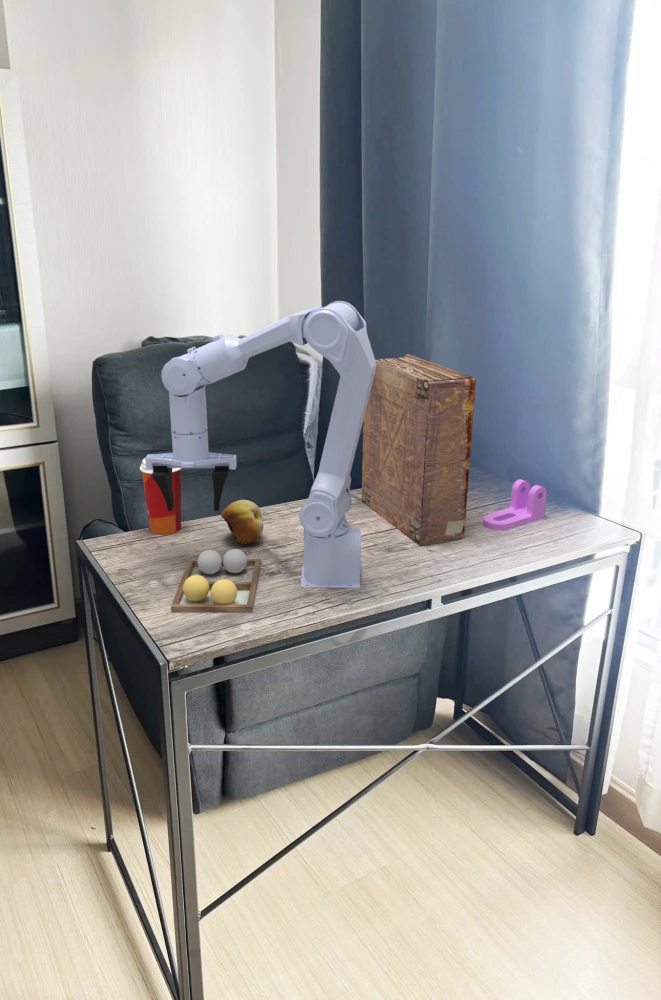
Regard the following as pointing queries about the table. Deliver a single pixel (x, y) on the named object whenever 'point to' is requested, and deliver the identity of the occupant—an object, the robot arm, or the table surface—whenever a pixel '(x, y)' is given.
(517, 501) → the bracket
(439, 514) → the book
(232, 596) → the ochre ball
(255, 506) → the fruit
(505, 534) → the table surface
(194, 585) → the ochre ball
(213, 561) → the grey ball
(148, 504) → the paper cup
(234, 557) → the grey ball
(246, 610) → the sorting board
